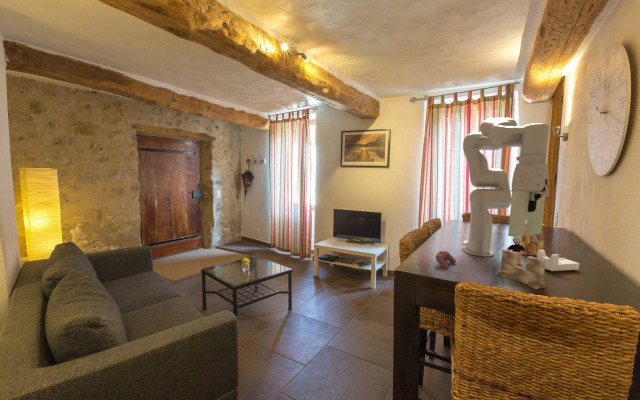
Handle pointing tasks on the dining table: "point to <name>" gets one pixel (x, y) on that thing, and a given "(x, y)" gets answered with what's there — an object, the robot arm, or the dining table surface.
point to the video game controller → (444, 258)
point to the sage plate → (525, 214)
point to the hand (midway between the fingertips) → (527, 210)
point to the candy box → (532, 241)
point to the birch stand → (522, 269)
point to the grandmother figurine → (517, 248)
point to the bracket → (557, 262)
